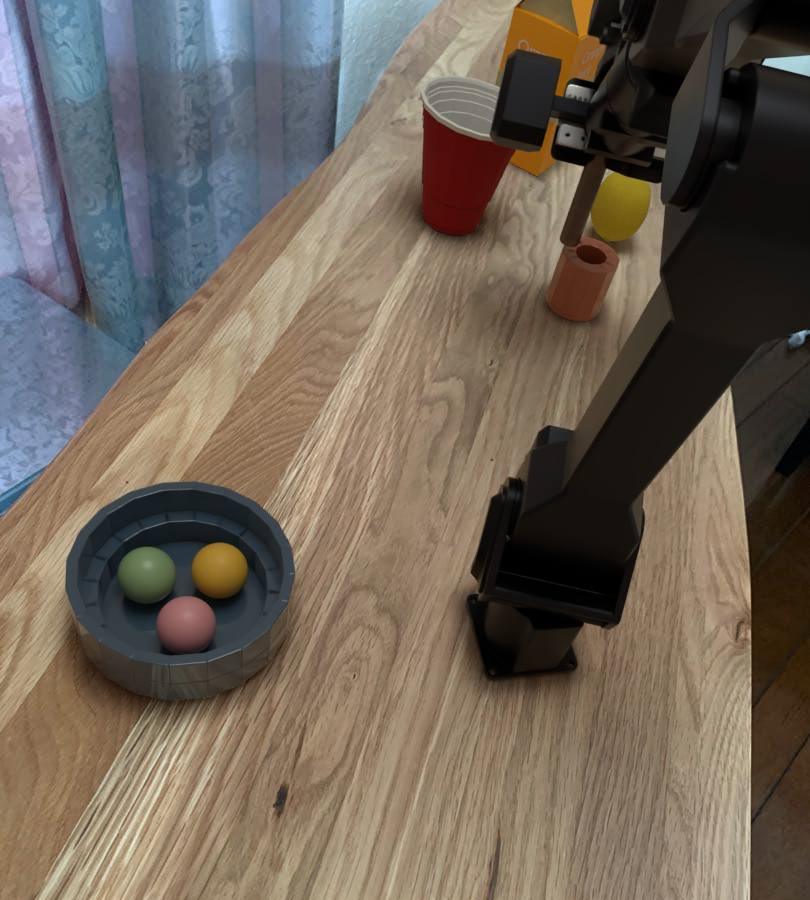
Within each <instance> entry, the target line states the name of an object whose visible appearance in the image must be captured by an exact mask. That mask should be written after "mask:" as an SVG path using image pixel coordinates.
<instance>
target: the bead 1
mask: <svg viewBox="0 0 810 900" xmlns="http://www.w3.org/2000/svg"><path fill="white" fill-rule="evenodd" d="M117 581H118V584H119V587H120V589H121V590H122V592H123V593H124V594H125V595H126V596H127V597H128V598H129V599H131V600H133V601H135V602H138V603H142V604H150V603H155V602H158V601H160V600H162V599H164V598H165V597H166V596H167V595H168V594H169V593H170V592H171V591H172V589H173V587H174V585H175V582H176V568H175V565H174V563H173V561H172V559H171V558H170V557H169V556H168V555H167V554H166V553H165V552H163V551H162V550H160V549H157V548H154V547H140V548H137V549H134V550H132V551H131V552H129V553H128V554H127V555H126V556H125V557H124V558H123V559H122V561H121V562H120V564H119V567H118V571H117Z"/></svg>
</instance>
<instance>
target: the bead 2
mask: <svg viewBox="0 0 810 900" xmlns="http://www.w3.org/2000/svg"><path fill="white" fill-rule="evenodd" d="M216 627H217V623H216V617H215V614H214V612H213V610H212V609H211V607H210V606H209V605H208V604H207V603H206V602H204V601H203V600H201V599H199V598H196V597H192V596H183V597H178V598H175V599H173V600H171V601H169V602H168V603H167V604H166V605H165V606H164V607H163V608H162V609H161V611H160V613H159V614H158V617H157V621H156V632H157V636H158V638H159V640H160V642H161V643H162V645H163V646H164V647H165V648H167V649H168V650H169V651H171V652H173V653H176V654H179V655H186V654H196V653H198V652H200V651H202V650H204V649H205V648H206V647H207V646H208V645H209V644H210V643H211V641H212V640H213V638H214V636H215V633H216Z"/></svg>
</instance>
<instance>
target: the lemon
mask: <svg viewBox="0 0 810 900" xmlns="http://www.w3.org/2000/svg"><path fill="white" fill-rule="evenodd" d="M651 199H652V191H651V187H650V182H646V181H642V180H638V179H634V178H629V177H626V176H623V175H621V174H619V173H616V172H614V171H612V172H611V173H610V174H609V175H608V176H606V177H605V179H603V180H602V183H601V185H600V188H599V191H598V193H597V196H596V199H595V202H594V204H593V207H592V210H591V212H590V222H591V225H592V227H593V229H594V231H595V232H596V233H597V234H598V235H599V236H600V237H601V238H602V239H603V242H605V243H610V242H612V241H613V242H620V241H624V240H627V239H629V238H630V237H632V236H633V235H634V234H637V232H638V231H639V229H640V228H641V227H642V226H643V224H644V223H645V221H646V219H647V216H648V213H649V210H650V205H651Z"/></svg>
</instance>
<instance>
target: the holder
mask: <svg viewBox="0 0 810 900" xmlns="http://www.w3.org/2000/svg"><path fill="white" fill-rule="evenodd" d="M620 262H621V260H620V258H619V255H618V253H617V252H616V250H615V249H614V248H612V247H611V246H609V244H608V243H606V242H605V241H601V240H598V239H595V238H592V237H589V236H582V237H581V240H580V242H579V245H578V246H576V247H568V246H565V245H563V247H562V249H561V252H560V254H559V257H558V260H557V262H556V266H555V269H554V271H553V275H552V277H551V280H550V282H549V285H548V288H547V291H546V293H545V294H546V295H545V301H546V304H547V306H548V307H549V308H550V310H551V311H552V312H554V313H555V314H556V315H557V316H559V317H561V318H563V319H566V320H569V321H572V322H587V321H591V320H593V319H595V317H597V315H599V312H600V310H601V308H602V305H603V304H604V300H605V299H606V296H607V294H608V291H609V289H610V286H611V284H612V283H613V279H614V277H615V275H616V272H617V271H618V267H619V264H620Z"/></svg>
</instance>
